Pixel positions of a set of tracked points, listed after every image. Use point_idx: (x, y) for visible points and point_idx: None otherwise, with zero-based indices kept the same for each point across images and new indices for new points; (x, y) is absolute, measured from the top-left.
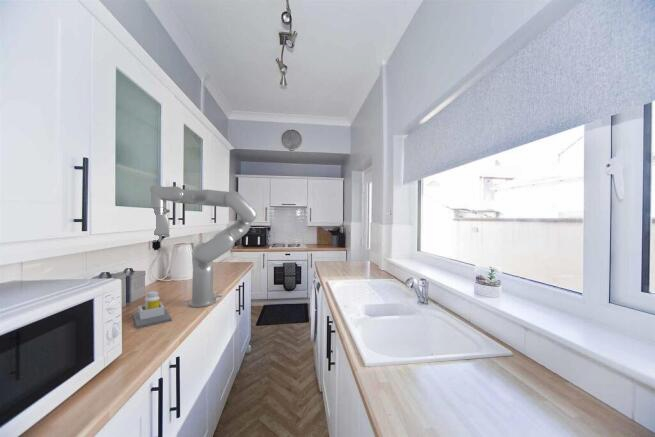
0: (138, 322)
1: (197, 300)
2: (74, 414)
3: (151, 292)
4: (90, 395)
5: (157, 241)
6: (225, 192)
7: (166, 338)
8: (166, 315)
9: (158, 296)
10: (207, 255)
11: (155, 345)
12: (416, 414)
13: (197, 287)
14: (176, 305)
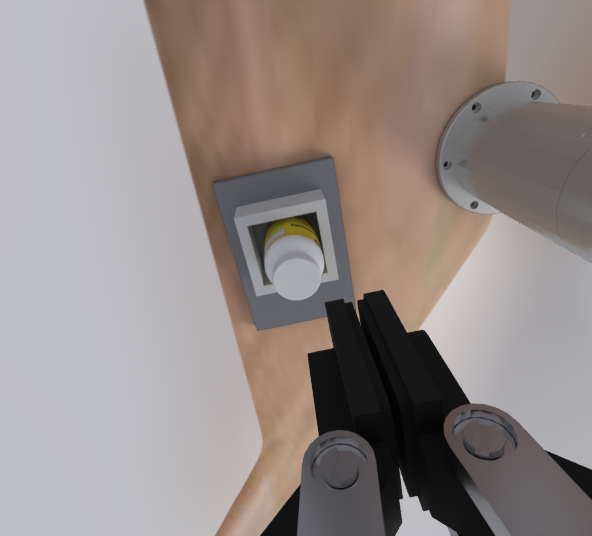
0: (256, 304)
1: (478, 198)
2: None
3: (292, 278)
4: (243, 524)
5: (426, 494)
6: None
7: None
8: (341, 275)
9: (320, 263)
10: None
11: (315, 432)
12: None
13: (517, 220)
14: (385, 121)
